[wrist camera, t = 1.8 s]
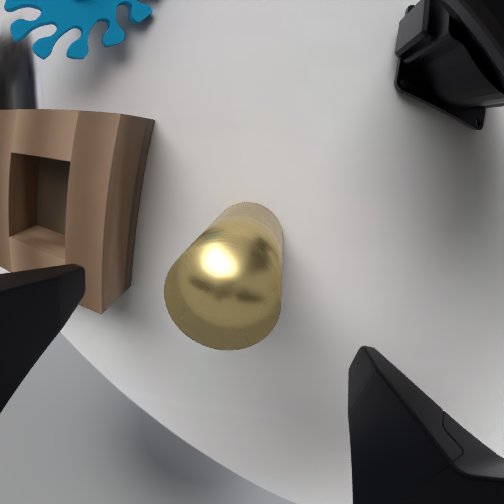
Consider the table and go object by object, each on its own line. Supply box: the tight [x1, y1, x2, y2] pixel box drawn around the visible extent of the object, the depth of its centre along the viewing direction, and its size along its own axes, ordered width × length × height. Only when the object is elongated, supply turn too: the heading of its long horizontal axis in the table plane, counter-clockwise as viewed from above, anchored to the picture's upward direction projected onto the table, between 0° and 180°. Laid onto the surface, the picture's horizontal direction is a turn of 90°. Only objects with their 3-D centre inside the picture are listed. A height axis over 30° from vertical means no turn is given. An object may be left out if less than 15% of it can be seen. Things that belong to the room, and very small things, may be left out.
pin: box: [164, 202, 283, 350], centre depth 14 cm, size 4×4×8 cm
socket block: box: [0, 109, 154, 314], centre depth 16 cm, size 11×11×4 cm
